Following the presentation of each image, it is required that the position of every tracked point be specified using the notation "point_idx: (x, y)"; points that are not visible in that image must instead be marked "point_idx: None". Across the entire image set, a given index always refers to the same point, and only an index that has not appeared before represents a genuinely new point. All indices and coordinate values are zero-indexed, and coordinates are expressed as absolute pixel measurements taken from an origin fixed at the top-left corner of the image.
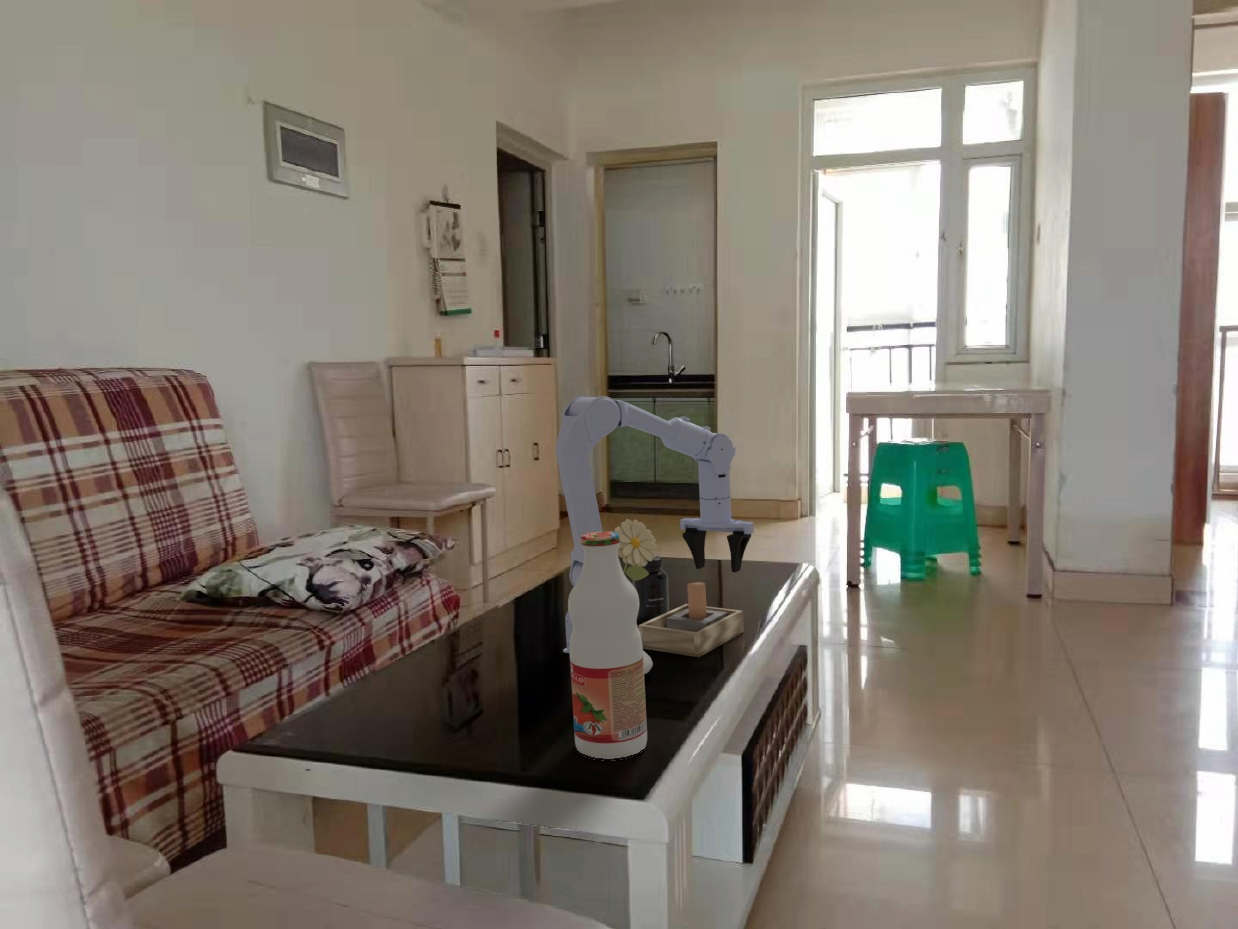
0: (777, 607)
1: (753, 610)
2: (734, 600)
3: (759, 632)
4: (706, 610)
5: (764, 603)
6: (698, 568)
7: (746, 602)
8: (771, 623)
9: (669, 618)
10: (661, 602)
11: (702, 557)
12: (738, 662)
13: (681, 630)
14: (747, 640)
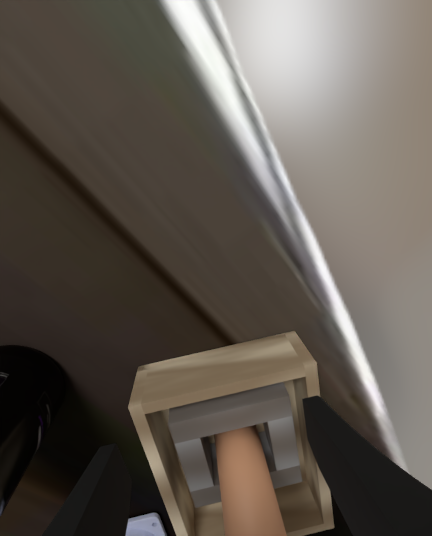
0: (222, 58)
1: (181, 145)
2: (28, 66)
3: (324, 307)
4: (259, 450)
5: (148, 34)
6: (129, 485)
7: (86, 64)
8: (308, 229)
9: (203, 505)
10: (44, 426)
11: (104, 508)
12: (385, 454)
13: (289, 534)
14: (333, 364)
